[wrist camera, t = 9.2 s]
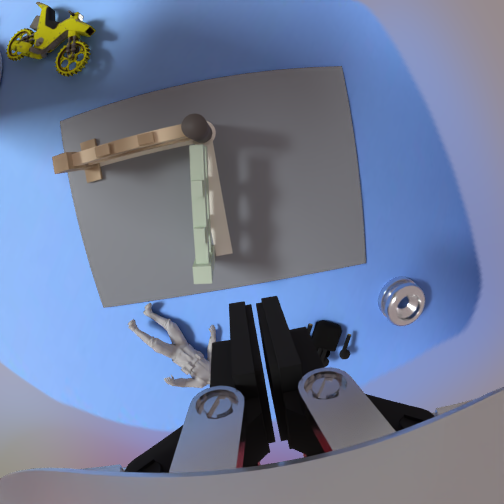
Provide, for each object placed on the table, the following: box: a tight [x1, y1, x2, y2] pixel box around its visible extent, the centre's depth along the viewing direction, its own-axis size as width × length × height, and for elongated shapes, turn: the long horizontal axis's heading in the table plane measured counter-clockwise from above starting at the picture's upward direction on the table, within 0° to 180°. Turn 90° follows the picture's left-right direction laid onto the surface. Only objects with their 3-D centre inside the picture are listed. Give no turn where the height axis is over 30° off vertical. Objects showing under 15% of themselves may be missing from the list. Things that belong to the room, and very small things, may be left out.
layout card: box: [60, 66, 366, 308], centre depth 29 cm, size 20×28×1 cm
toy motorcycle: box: [6, 2, 96, 77], centre depth 21 cm, size 12×4×7 cm
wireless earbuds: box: [307, 320, 351, 367], centre depth 34 cm, size 7×2×5 cm
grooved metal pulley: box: [378, 276, 425, 326], centre depth 32 cm, size 5×3×5 cm
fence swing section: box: [189, 144, 215, 284], centre depth 26 cm, size 10×1×6 cm, turn 1°
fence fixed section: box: [52, 114, 212, 183], centre depth 24 cm, size 13×4×7 cm, turn 99°
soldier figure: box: [128, 303, 216, 388], centre depth 31 cm, size 8×5×12 cm
